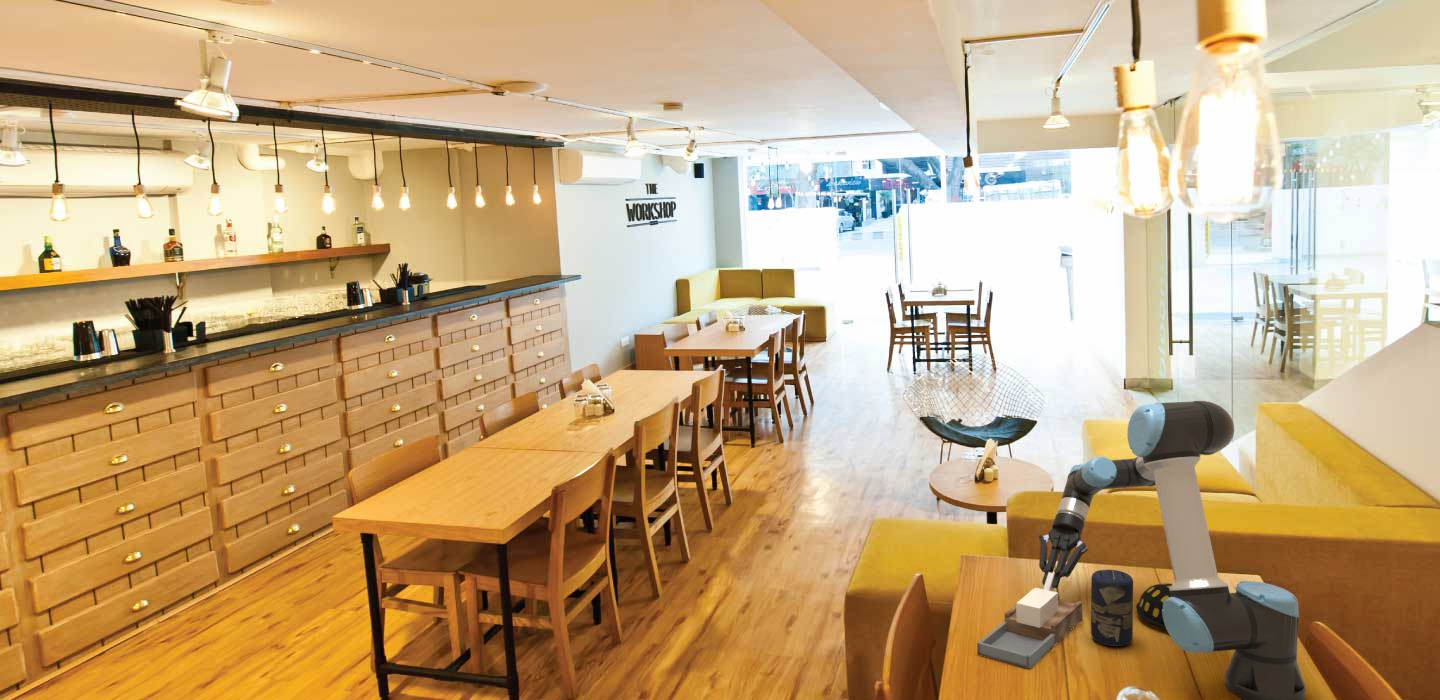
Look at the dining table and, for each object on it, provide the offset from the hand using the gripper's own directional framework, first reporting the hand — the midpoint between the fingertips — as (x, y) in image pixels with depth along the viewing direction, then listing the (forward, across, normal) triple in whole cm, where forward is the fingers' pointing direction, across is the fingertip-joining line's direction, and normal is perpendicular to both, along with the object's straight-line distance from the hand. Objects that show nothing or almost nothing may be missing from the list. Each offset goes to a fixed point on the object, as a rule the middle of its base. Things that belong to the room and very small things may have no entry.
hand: (1045, 597), depth 242 cm
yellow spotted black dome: (-8, -25, -18) cm, 32 cm away
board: (+7, -1, -2) cm, 7 cm away
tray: (+19, -1, +10) cm, 21 cm away
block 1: (+9, -1, +6) cm, 11 cm away
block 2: (+5, -1, +1) cm, 5 cm away
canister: (+6, -17, -4) cm, 19 cm away
